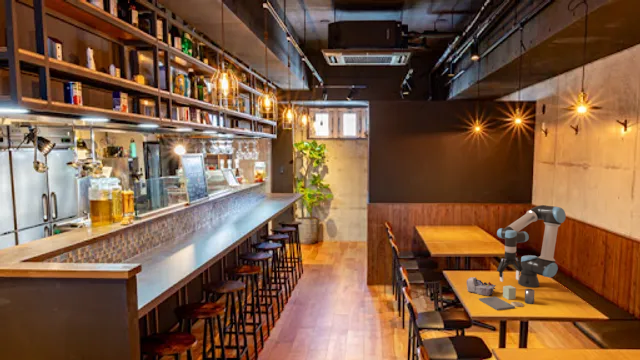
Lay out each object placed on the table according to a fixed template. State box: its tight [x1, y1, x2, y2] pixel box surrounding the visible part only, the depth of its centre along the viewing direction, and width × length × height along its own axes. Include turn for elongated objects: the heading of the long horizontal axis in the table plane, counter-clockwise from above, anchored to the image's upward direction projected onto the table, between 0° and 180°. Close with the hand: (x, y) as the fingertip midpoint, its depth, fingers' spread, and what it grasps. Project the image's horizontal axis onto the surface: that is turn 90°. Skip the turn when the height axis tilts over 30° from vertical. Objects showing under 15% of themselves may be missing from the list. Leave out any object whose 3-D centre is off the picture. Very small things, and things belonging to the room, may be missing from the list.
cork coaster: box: [510, 301, 525, 308], centre depth 289 cm, size 8×8×1 cm
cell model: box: [466, 276, 496, 297], centre depth 314 cm, size 13×11×20 cm
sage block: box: [502, 285, 517, 300], centre depth 302 cm, size 6×6×8 cm
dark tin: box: [524, 288, 535, 305], centre depth 293 cm, size 6×6×9 cm
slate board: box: [478, 296, 516, 311], centre depth 291 cm, size 14×20×1 cm
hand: (509, 280), depth 302 cm, fingers open, 13 cm apart
